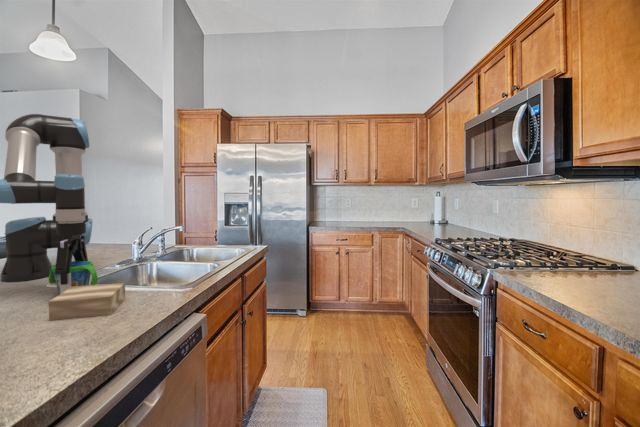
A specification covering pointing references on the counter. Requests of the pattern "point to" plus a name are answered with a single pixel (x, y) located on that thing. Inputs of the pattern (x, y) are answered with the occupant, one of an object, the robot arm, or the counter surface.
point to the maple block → (87, 301)
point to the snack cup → (76, 274)
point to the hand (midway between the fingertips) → (73, 288)
